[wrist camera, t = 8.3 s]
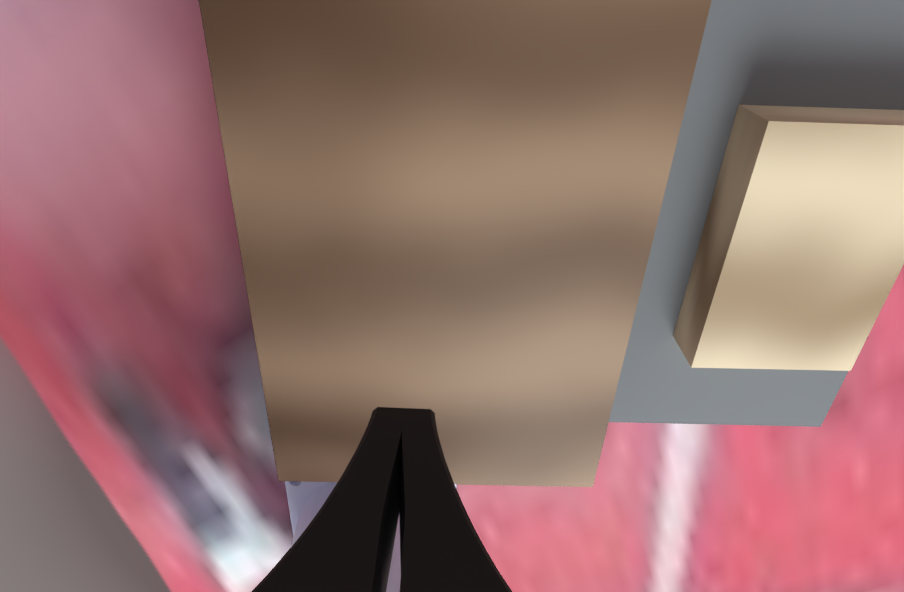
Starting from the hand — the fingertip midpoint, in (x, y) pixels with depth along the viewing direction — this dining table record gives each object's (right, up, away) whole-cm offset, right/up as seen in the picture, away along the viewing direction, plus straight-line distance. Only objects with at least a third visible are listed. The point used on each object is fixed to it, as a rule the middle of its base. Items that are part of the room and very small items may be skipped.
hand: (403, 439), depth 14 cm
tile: (+13, +4, +6) cm, 15 cm away
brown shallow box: (+1, +6, +7) cm, 9 cm away
